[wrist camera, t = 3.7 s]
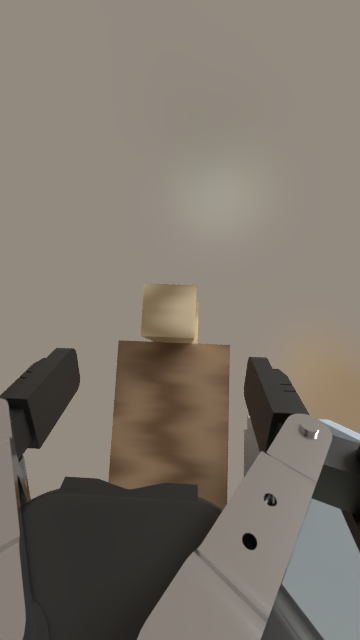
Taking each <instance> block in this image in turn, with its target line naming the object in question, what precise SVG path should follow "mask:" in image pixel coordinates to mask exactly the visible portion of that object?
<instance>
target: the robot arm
mask: <svg viewBox="0 0 360 640" xmlns="http://www.w3.org/2000/svg"><path fill="white" fill-rule="evenodd" d="M79 383H80V374H79V368H78V361H77V354H76V351H75V349H72V348H56V349H55V350H54V351H53V352H52V353H51V354H50V355H49V356H48V357H47V358H43V359H41V360H40V361H38V362H36V363H34V364H33V365H32V366H30V368H28V370H27V371H26V373H25V372H24V373H23V374H22V375H21V376H20V378H19V379H17V380H16V381H15V382H14V383H13V384H12V385H11V386H10V387H9V388H8V389H7V390H6V391H4V393H2V394H1V395H0V640H324V638H323V637H322V636H321V635H320V633H319V632H318V631H317V629H316V628H315V627H314V625H313V624H312V623H311V621H310V620H309V619H308V617H307V616H306V615H305V613H304V612H303V611H302V610H301V608H300V607H299V606H298V604H297V603H296V602H295V600H294V599H293V598H292V596H291V595H290V594H289V592H288V591H287V590H286V589H285V587H284V586H283V585H282V582H283V579H284V576H285V573H286V571H287V568H288V565H289V562H290V559H291V556H292V553H293V551H294V548H295V545H296V542H297V539H298V536H299V533H300V531H301V528H302V525H303V522H304V519H305V516H306V514H307V511H308V508H309V505H310V502H311V499H314V500H317V501H320V502H323V503H325V504H328V505H331V506H333V507H336V508H339V509H341V511H342V514H343V516H344V518H345V521H346V523H347V525H348V527H349V530H350V532H351V534H352V536H353V539H354V541H355V543H356V546H357V548H358V550H359V552H360V443H357V442H354V441H350V440H347V439H343V438H340V437H337V436H334V435H332V433H331V431H330V429H329V428H328V427H327V426H326V425H325V424H324V423H323V422H322V421H320V420H319V419H317V418H315V417H313V416H310V415H309V413H308V412H307V410H306V408H305V406H304V405H303V403H302V401H301V399H300V397H299V396H298V394H297V393H296V391H295V389H294V387H293V386H292V384H291V382H290V380H289V378H288V377H287V376H286V375H285V374H284V373H283V372H281V371H280V370H279V369H272V367H271V365H270V363H269V361H268V359H267V358H263V357H249V360H248V364H247V371H246V377H245V385H244V397H245V401H246V404H247V408H248V412H249V415H250V419H251V423H252V426H253V430H254V433H255V437H256V440H257V444H258V448H259V451H260V454H259V455H258V457H257V458H256V460H255V461H254V463H253V464H252V466H251V467H250V469H249V471H248V472H247V474H246V475H245V477H244V478H243V480H242V482H241V483H240V485H239V486H238V488H237V489H236V491H235V492H234V494H233V496H232V497H231V499H230V500H229V502H228V503H227V505H226V506H225V508H224V510H222V509H220V508H219V507H218V506H216V505H215V504H213V503H212V502H210V501H208V500H206V499H204V498H201V497H198V485H193V484H177V483H161V484H156V485H151V486H146V487H140V488H135V489H125V488H122V487H120V486H117V485H114V484H111V483H108V482H105V481H103V480H100V479H94V478H93V479H92V478H76V477H65V479H64V481H63V483H62V485H61V488H60V489H56V490H53V491H50V492H47V493H45V494H42V495H40V496H38V497H36V498H34V499H32V500H31V498H30V492H29V485H28V479H27V472H26V467H25V460H24V456H23V453H24V452H25V450H26V449H27V448H36V449H40V448H41V446H42V444H43V443H44V441H45V440H46V438H47V437H48V435H49V434H50V432H51V430H52V429H53V427H54V426H55V424H56V423H57V421H58V419H59V418H60V416H61V415H62V413H63V412H64V410H65V409H66V407H67V406H68V404H69V402H70V401H71V399H72V398H73V396H74V395H75V393H76V392H77V390H78V387H79Z"/></svg>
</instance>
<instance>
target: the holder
mask: <svg viewBox="0 0 360 640" xmlns="http://www.w3.org/2000/svg"><path fill="white" fill-rule="evenodd" d="M319 420H320V419H319ZM320 421H322V422H323V423H324V424H325V425H326V426H327V427H328V428H329V429H330V431H331V433H332V435H334V436H337V437H340V438H343V439H347V440H350V441H354V442H357V443H360V434H358V433H356V432H354V431H352V430H350V429H348V428H345V427H343V426H341V425H339V424H337V423H335V422H332V421H330V420H322V419H321V420H320ZM259 454H260V451H259V448H258V444H257V440H256V437H255V433H254V430H253V426H252V423H251V419H250V416H248V417H247V430H244V477H245V475H246V474H247V472H248V471H249V469H250V467H251V466H252V464H253V463H254V461H255V460H256V458H257V457H258V455H259ZM282 585H283V586H284V587H285V589H286V590H287V591H288V592H289V594H290V595H291V596H292V598H293V599H294V600H295V602H296V603H297V604H298V606H299V607H300V608H301V610H302V611H303V612H304V613H305V615H306V616H307V617H308V619H309V620H310V621H311V623H312V624H313V625H314V627H315V628H316V629H317V631H318V632H319V633H320V635H321V636H322V637H323V638H324V640H360V552H359V550H358V548H357V546H356V543H355V541H354V539H353V536H352V534H351V532H350V530H349V527H348V525H347V523H346V521H345V518H344V516H343V514H342V511H341V509H339V508H336V507H333V506H331V505H328V504H325V503H323V502H320V501H317V500H314V499H311V502H310V505H309V508H308V511H307V514H306V516H305V519H304V522H303V525H302V528H301V531H300V533H299V536H298V539H297V542H296V545H295V548H294V551H293V553H292V556H291V559H290V562H289V565H288V568H287V571H286V573H285V576H284V579H283V582H282Z"/></svg>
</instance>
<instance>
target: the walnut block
mask: <svg viewBox="0 0 360 640" xmlns="http://www.w3.org/2000/svg"><path fill="white" fill-rule="evenodd" d="M229 357H230V345H215V344H214V345H213V344H190V343H166V342H142V341H141V342H140V341H119V346H118V360H117V372H116V386H115V400H114V414H113V427H112V441H111V455H110V470H109V482H108V483H111V484H114V485H117V486H120V487H122V488H125V489H135V488H140V487H146V486H151V485H156V484H161V483H177V484H193V485H198V497H201V498H204V499H206V500H208V501H210V502H212V503H213V504H215V505H216V506H218V507H219V508H220V509H222V510H224V508H225V506H226V505H227V475H228V473H227V472H228V415H229V413H228V412H229V359H230V358H229Z"/></svg>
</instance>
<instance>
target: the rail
mask: <svg viewBox="0 0 360 640" xmlns="http://www.w3.org/2000/svg"><path fill="white" fill-rule="evenodd" d="M198 310H199V301H196V286H195V285H168V284H167V285H166V284H144V295H143V310H142V326H141V336H142V337H145V338H147V339H150V340H152V341H153V342H166V343H190V344H197V340H198Z"/></svg>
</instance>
